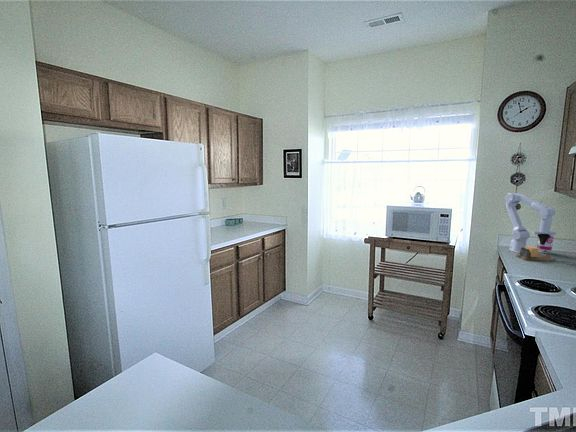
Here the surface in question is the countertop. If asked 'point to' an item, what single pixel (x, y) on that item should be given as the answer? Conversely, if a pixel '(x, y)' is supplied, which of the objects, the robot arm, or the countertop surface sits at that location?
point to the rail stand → (525, 255)
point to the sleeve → (533, 251)
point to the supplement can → (546, 245)
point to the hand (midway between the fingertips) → (542, 244)
